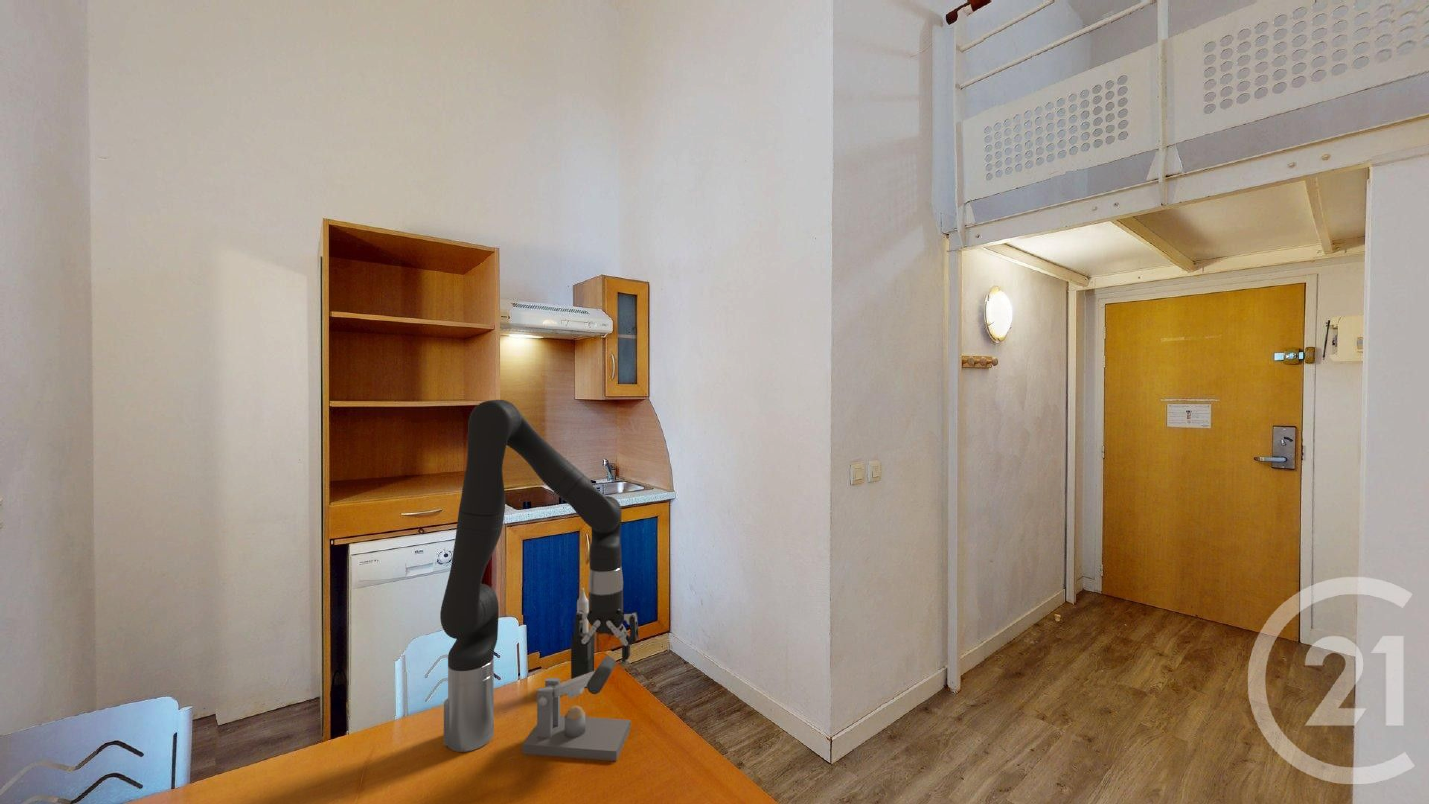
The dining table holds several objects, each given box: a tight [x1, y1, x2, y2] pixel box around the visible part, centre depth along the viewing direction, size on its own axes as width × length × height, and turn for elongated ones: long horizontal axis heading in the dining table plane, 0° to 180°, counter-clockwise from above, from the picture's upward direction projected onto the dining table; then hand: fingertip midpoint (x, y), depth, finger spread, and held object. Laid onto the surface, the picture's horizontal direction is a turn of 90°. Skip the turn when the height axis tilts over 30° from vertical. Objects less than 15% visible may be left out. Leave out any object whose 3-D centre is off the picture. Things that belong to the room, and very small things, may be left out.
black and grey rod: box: [570, 587, 595, 689], centre depth 143 cm, size 5×5×25 cm
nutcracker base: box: [521, 677, 632, 762], centre depth 118 cm, size 20×11×12 cm, turn 84°
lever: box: [546, 655, 616, 700], centre depth 118 cm, size 16×10×4 cm, turn 84°
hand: (606, 659), depth 121 cm, fingers open, 8 cm apart
